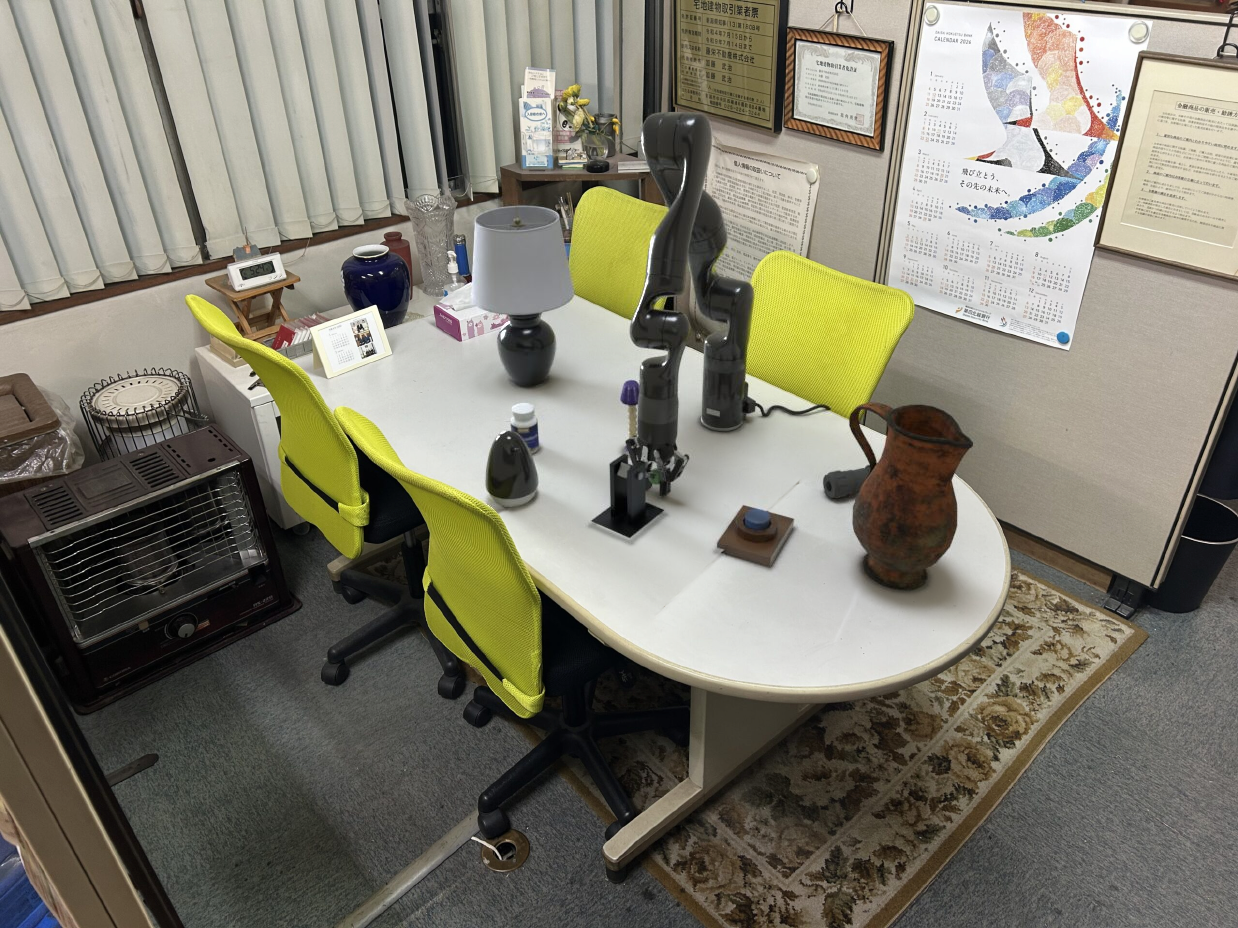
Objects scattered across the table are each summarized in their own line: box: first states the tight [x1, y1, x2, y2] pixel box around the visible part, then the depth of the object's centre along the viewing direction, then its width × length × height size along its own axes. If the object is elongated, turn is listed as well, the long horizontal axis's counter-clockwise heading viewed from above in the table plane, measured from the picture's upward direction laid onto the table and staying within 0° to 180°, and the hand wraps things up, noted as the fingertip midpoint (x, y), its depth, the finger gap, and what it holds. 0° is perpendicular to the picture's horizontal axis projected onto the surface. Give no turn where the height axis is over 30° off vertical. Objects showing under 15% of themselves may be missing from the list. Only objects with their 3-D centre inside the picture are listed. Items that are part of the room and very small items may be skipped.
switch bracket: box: [591, 453, 665, 539], centre depth 164 cm, size 11×9×13 cm
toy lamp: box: [619, 379, 639, 452], centre depth 184 cm, size 5×5×17 cm
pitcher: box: [848, 402, 974, 591], centre depth 147 cm, size 17×21×30 cm
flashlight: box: [822, 464, 870, 499], centre depth 174 cm, size 15×5×5 cm, turn 108°
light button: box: [745, 508, 770, 530], centre depth 159 cm, size 4×4×2 cm
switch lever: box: [617, 462, 660, 486], centre depth 166 cm, size 14×3×3 cm
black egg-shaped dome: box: [484, 430, 540, 508], centre depth 170 cm, size 10×10×15 cm
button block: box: [716, 504, 795, 568], centre depth 161 cm, size 13×10×4 cm
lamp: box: [470, 205, 575, 388], centre depth 208 cm, size 24×24×40 cm
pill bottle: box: [510, 402, 540, 455], centre depth 188 cm, size 6×6×10 cm
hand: (655, 491), depth 173 cm, fingers closed on switch lever, 3 cm apart
